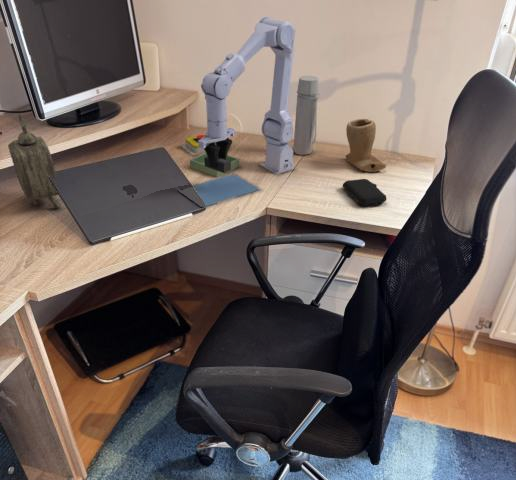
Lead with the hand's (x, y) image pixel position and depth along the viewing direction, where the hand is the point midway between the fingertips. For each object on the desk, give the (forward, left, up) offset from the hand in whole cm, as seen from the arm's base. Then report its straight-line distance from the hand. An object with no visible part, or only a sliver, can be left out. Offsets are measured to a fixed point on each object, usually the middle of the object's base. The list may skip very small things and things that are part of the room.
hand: (217, 164), depth 155 cm
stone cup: (-13, -52, -8) cm, 54 cm away
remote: (0, 0, -1) cm, 1 cm away
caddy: (+14, -8, -7) cm, 17 cm away
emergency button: (+31, -15, -8) cm, 35 cm away
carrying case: (-31, -35, -8) cm, 47 cm away
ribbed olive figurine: (+20, +49, -8) cm, 54 cm away
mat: (-2, +1, -7) cm, 8 cm away
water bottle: (+7, -43, -8) cm, 44 cm away
